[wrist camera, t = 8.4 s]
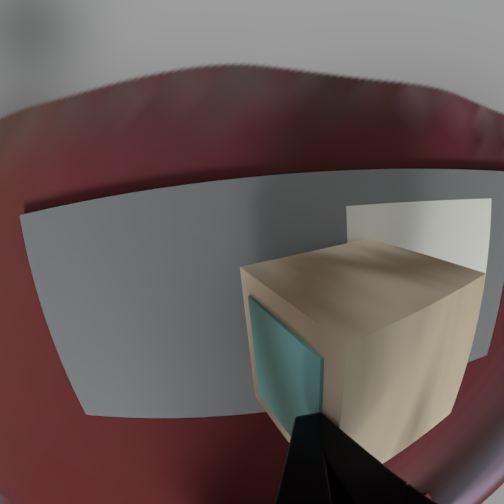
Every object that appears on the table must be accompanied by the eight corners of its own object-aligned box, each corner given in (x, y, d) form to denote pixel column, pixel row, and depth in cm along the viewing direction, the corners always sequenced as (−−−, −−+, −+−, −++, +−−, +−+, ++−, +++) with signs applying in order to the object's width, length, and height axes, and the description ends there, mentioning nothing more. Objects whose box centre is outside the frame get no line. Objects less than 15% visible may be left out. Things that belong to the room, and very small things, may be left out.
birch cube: (237, 267, 11) (369, 237, 13) (253, 396, 13) (364, 352, 15) (342, 345, 6) (487, 272, 8) (326, 495, 7) (452, 411, 10)
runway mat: (506, 171, 13) (511, 171, 13) (483, 352, 16) (486, 354, 16) (24, 214, 12) (19, 215, 12) (88, 410, 16) (86, 414, 15)
